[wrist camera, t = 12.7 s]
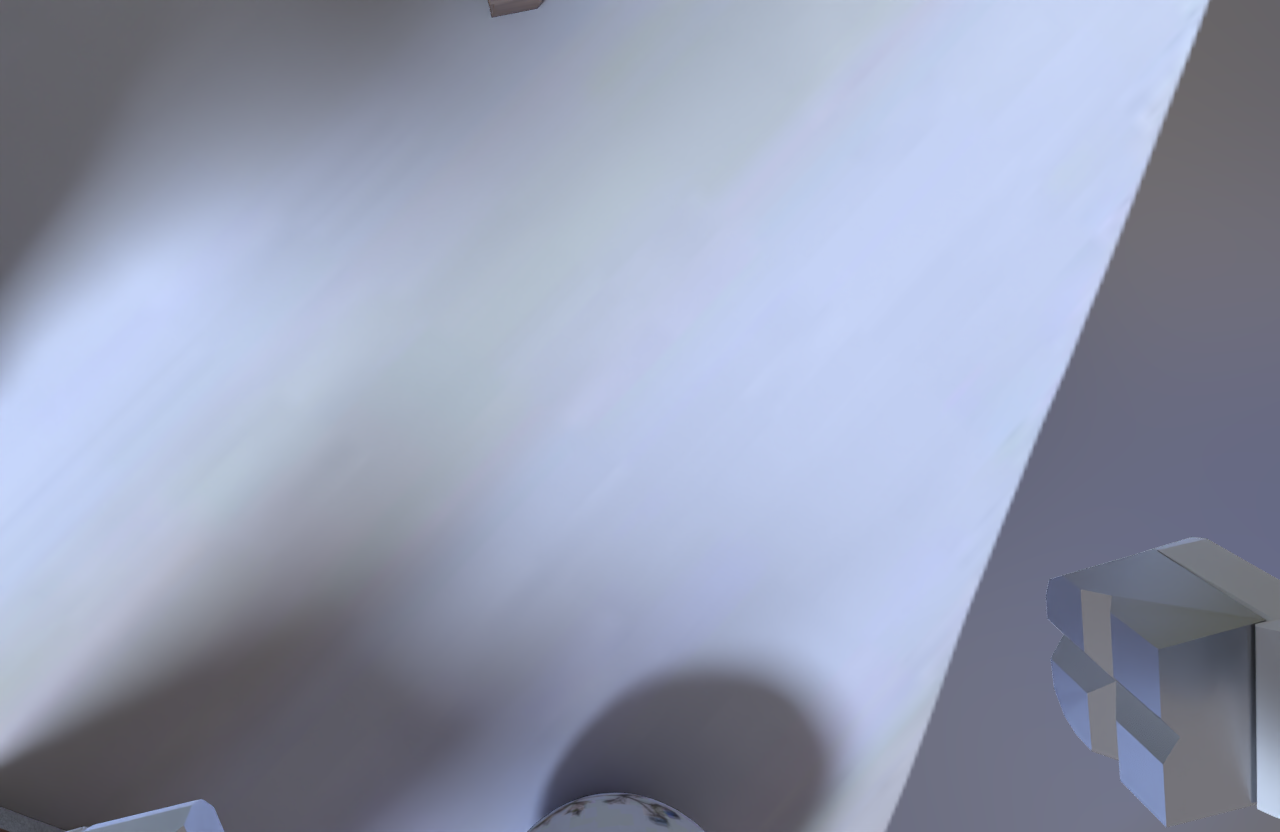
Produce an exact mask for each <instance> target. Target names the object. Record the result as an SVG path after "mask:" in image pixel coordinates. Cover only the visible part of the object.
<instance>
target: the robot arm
mask: <svg viewBox="0 0 1280 832" xmlns="http://www.w3.org/2000/svg"><path fill="white" fill-rule="evenodd" d="M1046 606H1047V619H1048V620H1050V622H1051V623H1053V624H1054V625H1055V626H1056V627H1057V628H1058V629H1059V630H1060V631H1061V632H1062V633H1063V634H1064V635H1063V637H1062V638H1061V640H1060V642H1059V644H1058V646H1057V648H1056V650H1055V651H1054V653H1053V655H1052V657H1051V666H1052V673H1053V682H1054V689H1055V692H1056V694H1057V697H1058V700H1059V702H1060V705H1061V708H1062V711H1063V713H1064V716H1065V718H1066V719H1067V721H1068V722H1069V724H1070V726H1071V727H1072V729H1073V730H1074V732H1075V733H1076V735H1077V736H1078V737H1079V738H1080V739H1081V740H1082V741H1083V742H1084V743H1085V744H1086V746H1087V747H1088V748H1089V749H1090V750H1091V751H1092V752H1095V753H1098V754H1101V755H1104V756H1107V757H1110V758H1113V759H1115V760H1118V761H1119V769H1120V781H1121V782H1122V783H1123V784H1124V785H1125V786H1126V787H1127V788H1128V789H1129V790H1130V791H1131V792H1132V793H1133V794H1134V795H1135V796H1136V797H1137V798H1138V799H1139V800H1140V801H1141V802H1142V803H1143V804H1144V805H1145V806H1146V807H1147V808H1148V809H1149V810H1150V811H1151V812H1152V813H1153V814H1154V815H1155V816H1156V817H1157V818H1158V819H1159V821H1160V822H1161V823H1162V824H1163V825H1164V826H1165V827H1170V826H1174V825H1178V824H1182V823H1185V822H1190V821H1194V820H1198V819H1201V818H1205V817H1209V816H1213V815H1217V814H1221V813H1225V812H1229V811H1233V810H1237V809H1241V808H1245V807H1248V806H1252V805H1256V804H1257V809H1259V810H1261V811H1263V812H1265V813H1268V814H1270V815H1272V816H1274V817H1277V818H1279V819H1280V580H1278V579H1276V578H1275V577H1273V576H1271V575H1269V574H1268V573H1266V572H1264V571H1262V570H1261V569H1259V568H1257V567H1255V566H1253V565H1252V564H1250V563H1248V562H1247V561H1245V560H1243V559H1241V558H1240V557H1238V556H1236V555H1234V554H1233V553H1231V552H1229V551H1227V550H1226V549H1224V548H1222V547H1220V546H1219V545H1217V544H1215V543H1213V542H1212V541H1210V540H1208V539H1205V538H1195V537H1190V538H1187V539H1184V540H1180V541H1177V542H1174V543H1170V544H1167V545H1164V546H1161V547H1158V548H1154V549H1151V550H1148V551H1145V552H1142V553H1138V554H1135V555H1132V556H1128V557H1125V558H1121V559H1118V560H1114V561H1111V562H1107V563H1104V564H1100V565H1097V566H1093V567H1090V568H1086V569H1083V570H1079V571H1076V572H1073V573H1069V574H1066V575H1062V576H1059V577H1056V578H1052V579H1049V583H1048V588H1047V592H1046ZM66 832H224V829H223V827H222V825H221V822H220V820H219V818H218V816H217V813H216V811H215V809H214V806H212V805H211V804H209V803H207V802H206V801H204V800H203V799H199V800H195V801H190V802H186V803H182V804H178V805H174V806H170V807H165V808H161V809H157V810H153V811H149V812H145V813H141V814H136V815H132V816H128V817H124V818H120V819H116V820H111V821H107V822H103V823H99V824H95V825H92V826H91V827H80V828H77V829H73V830H70V831H66Z"/></svg>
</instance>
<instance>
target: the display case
mask: <svg viewBox="0 0 1280 832" xmlns="http://www.w3.org/2000/svg"><path fill="white" fill-rule="evenodd" d="M0 832H66V831H65V830H62V829H60V828H57V827H54V826H52V825H49V824H46V823H43V822H41V821H38V820H35V819H33V818H30V817H27V816H24V815H22V814H19V813H16V812H13V811H11V810H8V809H5V808H3V807H0Z"/></svg>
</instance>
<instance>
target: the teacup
mask: <svg viewBox="0 0 1280 832" xmlns="http://www.w3.org/2000/svg"><path fill="white" fill-rule="evenodd" d="M528 832H705V831H704V830H703V829H702V828H701V827H700V826H699V825H697V824H696V823H695V822H694V821H693V820H691V819H690V818H688V817H687V816H685V815H684V814H683V813H681V812H680V811H678V810H676V809H674V808H672V807H670V806H668V805H666V804H664V803H662V802H659V801H657V800H654V799H651V798H648V797H644V796H640V795H636V794H630V793H602V794H596V795H590V796H586V797H582V798H579V799H577V800H574V801H571V802H569V803H567V804H565V805H562V806H561V807H559V808H557V809H555V810H554V811H552V812H551V813H549V814H548V815H546V816H545V817H544V818H542V819H541V820H540V821H538V822H537V823H536V824H535V825H534V826H533V827H532V828H531V829H530V830H529V831H528Z"/></svg>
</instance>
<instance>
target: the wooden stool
mask: <svg viewBox="0 0 1280 832" xmlns="http://www.w3.org/2000/svg"><path fill="white" fill-rule="evenodd" d="M541 2H542V0H488V3H489V7H490V12H491V16H492V17H497V16H502V15H507V14H512V13H517V12H522V11H527V10H532V9H537V8H538V7H539V5H540V4H541Z"/></svg>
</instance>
